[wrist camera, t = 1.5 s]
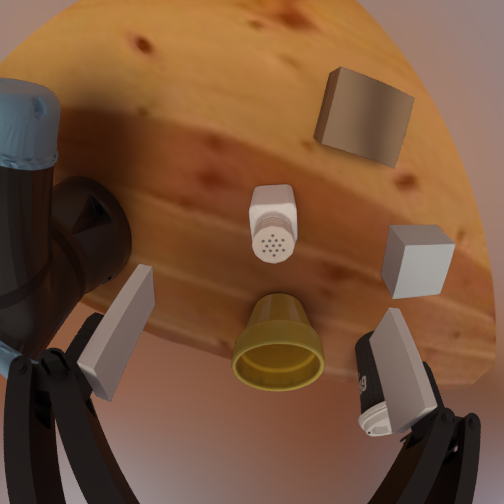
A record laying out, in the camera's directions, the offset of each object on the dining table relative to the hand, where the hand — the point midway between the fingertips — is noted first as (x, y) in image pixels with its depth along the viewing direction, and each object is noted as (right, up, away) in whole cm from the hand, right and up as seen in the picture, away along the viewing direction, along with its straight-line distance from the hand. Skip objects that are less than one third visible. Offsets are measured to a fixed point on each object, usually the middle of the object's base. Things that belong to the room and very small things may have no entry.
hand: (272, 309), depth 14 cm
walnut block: (+9, +17, +9) cm, 21 cm away
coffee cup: (+19, -11, +25) cm, 33 cm away
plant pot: (+3, -5, +22) cm, 23 cm away
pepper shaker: (+1, +8, +14) cm, 17 cm away
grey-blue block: (+19, +3, +16) cm, 25 cm away
